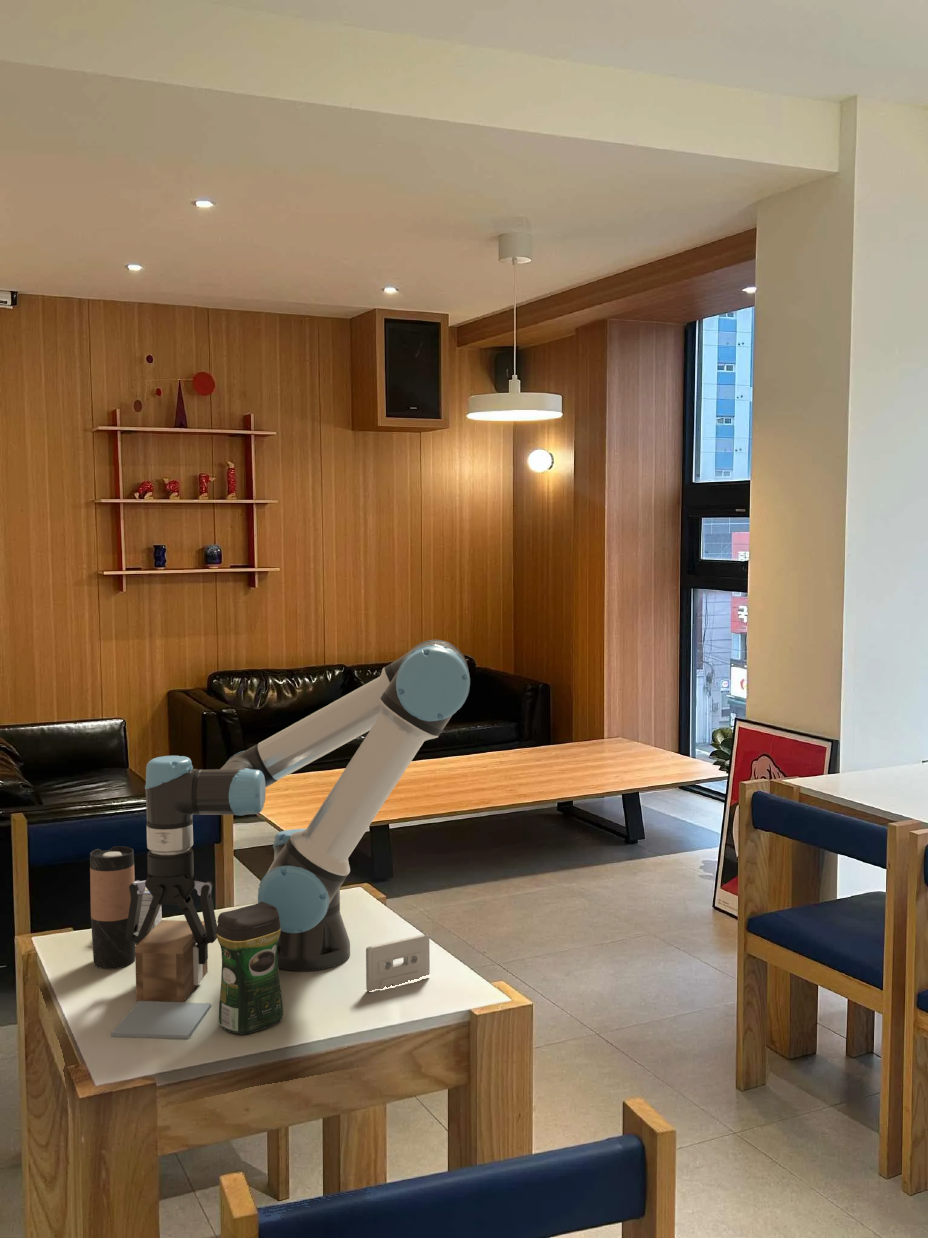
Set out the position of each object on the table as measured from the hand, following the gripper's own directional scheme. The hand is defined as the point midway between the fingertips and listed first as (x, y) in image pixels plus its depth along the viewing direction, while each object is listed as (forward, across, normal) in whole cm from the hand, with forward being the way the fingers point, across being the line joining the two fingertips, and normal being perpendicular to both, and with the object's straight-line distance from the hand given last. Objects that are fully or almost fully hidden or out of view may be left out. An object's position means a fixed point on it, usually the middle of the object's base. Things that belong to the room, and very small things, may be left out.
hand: (173, 981), depth 195 cm
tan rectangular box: (+1, 0, 0) cm, 1 cm away
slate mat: (+1, +3, -14) cm, 14 cm away
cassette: (+1, +38, +3) cm, 38 cm away
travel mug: (+1, -14, +10) cm, 17 cm away
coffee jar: (+1, +17, -14) cm, 22 cm away
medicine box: (+1, -15, +25) cm, 29 cm away
